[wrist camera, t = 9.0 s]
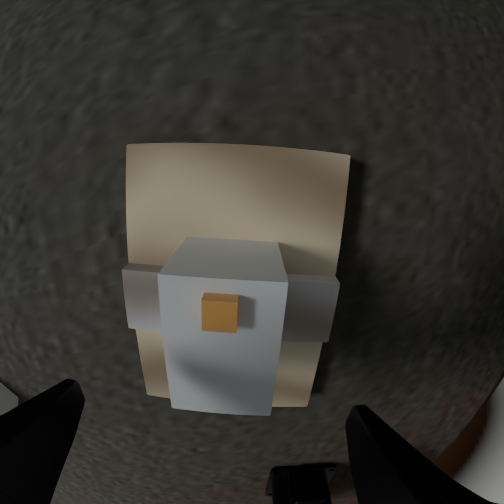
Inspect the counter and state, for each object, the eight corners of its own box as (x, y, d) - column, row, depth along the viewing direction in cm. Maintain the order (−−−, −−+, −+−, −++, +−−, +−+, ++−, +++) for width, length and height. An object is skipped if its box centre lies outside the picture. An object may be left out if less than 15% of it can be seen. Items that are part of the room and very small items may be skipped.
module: (266, 352, 17) (270, 425, 12) (189, 347, 17) (169, 417, 12) (277, 241, 15) (290, 289, 10) (186, 236, 15) (152, 280, 10)
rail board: (304, 392, 20) (309, 416, 18) (152, 381, 20) (143, 404, 17) (341, 155, 15) (356, 155, 13) (137, 144, 15) (118, 143, 12)
